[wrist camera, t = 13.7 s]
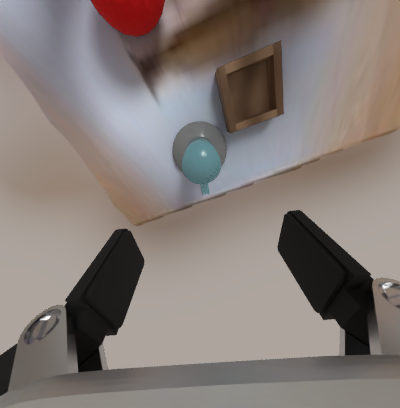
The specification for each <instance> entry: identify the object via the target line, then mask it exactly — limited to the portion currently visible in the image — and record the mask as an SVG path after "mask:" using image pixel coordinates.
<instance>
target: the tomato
mask: <svg viewBox="0 0 400 408" xmlns="http://www.w3.org/2000/svg"><path fill="white" fill-rule="evenodd" d="M91 2H92V3H93V5H94V7H95V8H96V10H97V11H98V13H99V14H100V15H101V16H102V17H103V18H104V19H105V20H106V21H107V22H108V23H109V24H110V25H111V26H112V27H113V28H115V29H117V30H118V31H120V32H122V33H124V34H125V35H131V36H137V37H138V36H141V35H144V34H148V33H149V32H150V31H151V30H152V29H153V28H154V27H155V26H156V25H157V23H158V21H159V19H160V17H161V15H162V11H163V6H164V2H165V0H91Z"/></svg>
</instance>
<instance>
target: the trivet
mask: <svg viewBox="0 0 400 408" xmlns="http://www.w3.org/2000/svg"><path fill="white" fill-rule="evenodd" d="M198 136H202V137H206V138H207V139H209V140H210V141H211V143H212V144H213V146H214V148H215V149H216V151H217V153H218V155H219V157H220V160H221V166H222V165H223V163H224V161H225V158H226V151H227V149H226V142H225V139H224V137H223V135H222V133H221V132H220V131H219V130H218V129H217V128H216V127H215V126H213V125H211V124H209V123H206V122H193V123H190V124H188V125H186V126H185V127H183V128H182V129H181V130H180V131H179V133H178V134H177V136H176V138H175V140H174V143H173V157H174V160H175V162H176V164H177V166H178V167H179V169H180V170H181V171H182V172H183V170H182V160H183V156H184V153H185V150H186V148H187V145H188V143H189V142H190V140H192V139H193V138H195V137H198Z"/></svg>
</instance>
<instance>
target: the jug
mask: <svg viewBox="0 0 400 408" xmlns="http://www.w3.org/2000/svg"><path fill="white" fill-rule="evenodd" d="M220 169H221V160H220V157H219V155H218V153H217V151H216V149H215V148H214V146H213V144H212V143H211V141H210V140H209V139H207V138H206V137H202V136H198V137H195V138H193V139H192V140H190V142H189V143H188V145H187V148H186V150H185V153H184V156H183V160H182V170H183V173H184V174H185V176H186V177H187V178H188V179H189V180H190V181H192V182H194V183H197V184H201V191H202V194H209V187H208V183H209V182H211V181H212V180H214V179H215V178H216V177H217V175H218V174H219V172H220Z"/></svg>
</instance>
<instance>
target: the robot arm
mask: <svg viewBox="0 0 400 408" xmlns="http://www.w3.org/2000/svg"><path fill="white" fill-rule="evenodd" d="M278 251H279V253H280V255H281V256H282V258H283V259H284V261H285V263H286V264H287V266H288V268H289V269H290V271H291V273H292V274H293V276H294V278H295V279H296V281H297V283H298V284H299V286H300V287H301V289H302V291H303V292H304V294H305V296H306V297H307V299H308V301H309V302H310V304H311V306H312V307H313V309H314V310H315V311H316V312H317V313H320V315H321V316H322V318H323V320H327V319H335V320H336V321H337V323H338V324H339V326H340V355H339V356H323V357H322V356H321V357H304V358H287V359H270V360H252V361H236V362H219V363H203V364H187V365H172V366H159V367H158V366H157V367H144V368H127V369H113V370H108V367H107V362H106V357H105V352H104V347H103V340H104V338H105V335H106V336H109V335H116V334H117V332H118V329H119V328H120V327H121V326H122V324H123V322H124V319H125V316H126V313H127V311H128V308H129V305H130V302H131V300H132V296H133V294H134V291H135V288H136V285H137V283H138V280H139V277H140V274H141V272H142V269H143V266H144V258H143V256H142V254H141V252H140V250H139V248H138V246H137V244H136V242H135V239H134V238H133V235H132V233H131V231H128V230H127V229H118V230H115V231H114V233H113V234H112V236H111V237H110V238H109V240H108V241H107V242H106V244H105V245H104V247H103V248H102V249H101V251H100V252H99V254H98V255H97V256H96V258H95V259H94V261H93V262H92V263H91V265H90V266H89V268H88V269H87V270H86V272H85V273H84V275H83V276H82V277H81V279H80V280H79V282H78V283H77V284H76V286H75V287H74V288H73V290H72V291H71V293H70V294H69V296H68V297H67V298H66V300H65V301H67V303H66V305H65V306H63V305H56V306H52V307H50V308H48V309H46V310H45V311H43V312H42V313H40V314H39V315H37V316H36V317H35V318H34V319H33V320H32V321H31V322H30V323H29V324H28V325H27V327H26V328H25V329H24V331H23V332H22V334H21V335H20V338H19V340H18V343H17V344H16V345H14V346H13V347H12V348H10V349H9V350H7V351H6V352H4V353H3V354H2V355H0V408H400V282H399V281H396V280H393V279H388V278H377V279H375V280H373V279H372V278H371V277H370V275H371V274H370V273H369V272H368V271H367V270H366V269H365V268H364V267H362V266H361V265H360V264H359V263H358V262H357V261H356V260H355V259H354V258H352V257H351V256H350V255H349V254H348V253H347V252H346V251H345V250H344V249H343V248H341V247H340V246H339V245H338V244H337V243H336V242H335V241H334V240H333V239H331V238H330V237H329V236H328V235H327V234H326V233H325V232H324V231H323V230H322V229H320V228H319V227H318V226H317V225H316V224H315V223H314V222H313V221H312V220H311V219H309V218H308V217H307V216H306V215H305V214H304V213H303V212H302V211H300V210H296V211H289V212H287V214H285V215H284V220H283V224H282V229H281V233H280V238H279V243H278Z"/></svg>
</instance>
